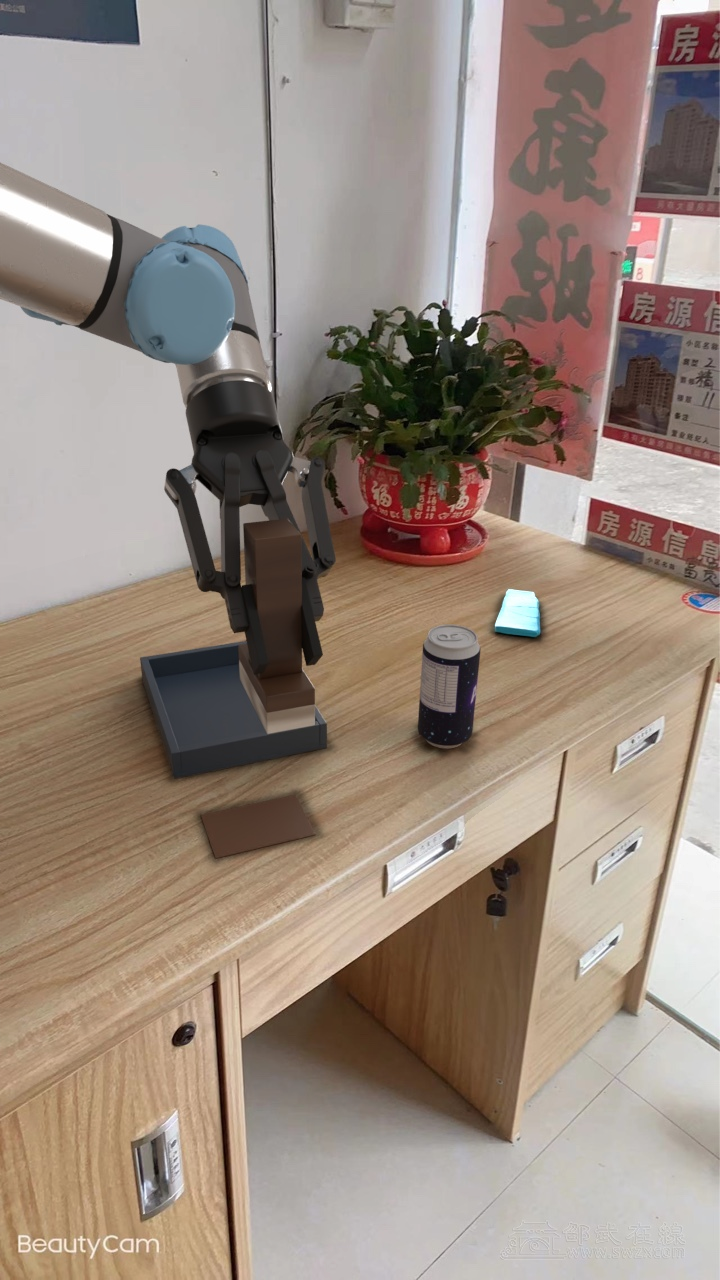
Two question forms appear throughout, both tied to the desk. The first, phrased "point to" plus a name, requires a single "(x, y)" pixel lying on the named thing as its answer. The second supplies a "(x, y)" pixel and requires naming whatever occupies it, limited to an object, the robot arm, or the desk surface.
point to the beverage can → (448, 685)
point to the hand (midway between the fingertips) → (288, 664)
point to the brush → (277, 627)
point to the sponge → (519, 614)
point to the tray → (214, 713)
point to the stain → (256, 825)
